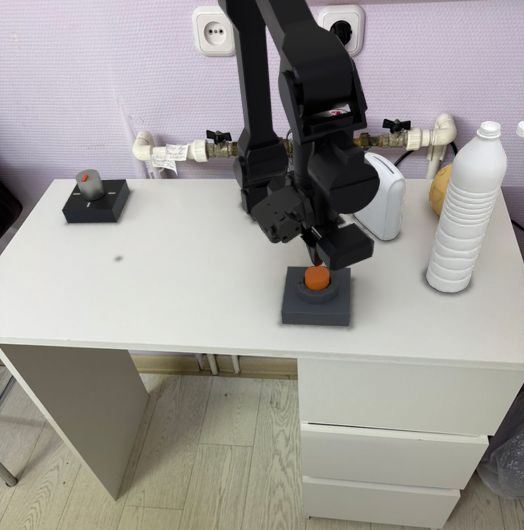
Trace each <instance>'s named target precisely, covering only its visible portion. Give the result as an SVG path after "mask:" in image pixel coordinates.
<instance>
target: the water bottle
mask: <svg viewBox="0 0 524 530" xmlns="http://www.w3.org/2000/svg"><path fill="white" fill-rule="evenodd" d="M501 127H502V125H501V124H500V123H499V122H497V121H493V120H486V121H483V122H482V123H481V124H480V125H479V128H478V129H477V130H476V135H475V136H474V137H473V138H472V139H470V140H469V141H468V142H467V143H466V144H464V146H463V147H462V148H460V149H459V150H458V152H457V153H456V155H455V156H454V158H453V161H452V163H453V164H452V169H451V174H450V178H449V183H448V187H447V191H446V195H445V199H444V204H443V208H442V212H441V215H440V216H439V221H438V224H437V228H436V234H435V237H434V242H433V245H432V250H431V254H430V258H429V263H428V266H427V269H426V275H425V278H426V280H427V283H428V284H429V286H430V287H432V288H433V289H436V290H437V291H439V292H441V293H451V294H452V293H459V292H460V291H463V290H465V289H466V288H467V286H468V285H469V283H470V281H471V278H472V275H473V270H474V268H475V265H476V262H477V259H478V257H479V253H480V250H481V248H482V245H483V241H484V238H485V234H486V231H487V229H488V226H489V223H490V219H491V216H492V215H493V214H492V213H493V210H494V208H495V205H496V202H497V198H498V195H499V193H500V190H501V187H502V183H503V181H504V178H505V176H506V173H507V169H508V157H507V154H506V152H505V149H504V146H503V145H502V142H501V140H500V137H501V135H502V132H501ZM515 134H516V135H517V136H518V137H520V138H523V139H524V120H522V121H520V122H518V124H517V126H516V129H515Z"/></svg>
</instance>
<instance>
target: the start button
mask: <svg viewBox="0 0 524 530" xmlns="http://www.w3.org/2000/svg"><path fill="white" fill-rule="evenodd" d="M311 266H312V267H310V266H309V267H310V268H308V269H307V270H306V272H305V284H306V286H307V287H308V288H309V289H311V290H322V289H325V288H326V287H327V286H328V285H329V271H328V269H327V268H325V267H323V266H324V265H320V266H317V267H315V266H314V265H311Z"/></svg>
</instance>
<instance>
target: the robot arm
mask: <svg viewBox="0 0 524 530" xmlns="http://www.w3.org/2000/svg"><path fill="white" fill-rule="evenodd" d="M217 4H218V7H219V8H220V9H221V11H222V12H223V14H224V15H225V17H226V18H227V20H228V21H229V22H230V24H231V27H232V32H233V41H234V42H233V43H234V50H235V58H236V66H237V75H238V83H239V84H238V85H239V91H240V101H241V109H242V118H243V129H242V131H241V133H240V135H239V137H238V139H237V141H236V146H237V147H236V148H237V156H236V157H235V159H234V162H233V165H232V169H233V174H234V178H235V180H236V182H237V184H238V186H239V188H240V189H239V190H240V197H241V206H242V208H243V210H244V211H245V213H246V214H247V215H249V216H250V217H251V219H252V220H253V221H254V222H256V224H257V226H258V228H259V229H260V231H262V233H263V234H264V235H265V236H266V238H267V240H268V241H269V242H270V243H271V244H273V245H275V244H279V243H282V244H288V243H290V242H291V241H292V240H294V239H295V238H296V237H298V236H299V237H300V238H301V240H302V241H303V242H304V245H305V247H306V250H307V253H308V255H309V258H310V262H311V264H312V266H315V267H317V266H322V265H323V264H324V266H326V267H328V268H329V270H333V271H338V270H340V269H343V268H345V267H350V266H353V265H355V264H357V263H360V262H363V261H365V260H368V259H371V258H372V257H373V254H374V250H375V240H374V239H373V238H372V237H371V236H370V234H368V233H367V232H366V231H365V230H364V229H363V228H362V227H361V226H360V225H359V224H357V223H355V222H352V223H349V224H347V222H348V221H347V220H346V219H345V218H344V217H343V216H342V215H354V213H356V212H358V211H360V210H362V209H363V208H365V207H366V206H367V205H368V204H369V203H370V202H372V200H373V199H374V197H375V196H376V194H377V192H378V190H379V186H380V178H379V175H378V172H377V170H376V169H375V168H374V166H373V165H372V164H371V163H370V162H369V161H368V160H367V159H366V158H365V154H366V153H365V152H366V151H364V149H363V148H362V147H361V146H360V145H358V144H357V143H355V141H354V138H355V132H358V131H361V130H365V129H367V128H368V121H367V120H368V119H367V114H366V112H367V110H368V109H369V107H368V104H367V99H366V95H365V93H364V89H363V85H362V82H361V78H360V73H359V71H358V68H357V65H356V62H355V60H354V58H352V56H351V54H350V53H349V51H348V50H347V48H346V46H345V45H344V44H343V42H342V41H341V38H339V36H338V35H337V34H336V33H334V32H332V31H330V30H328V29H327V28H324V27H322V26H320V25H319V24H318V22H317V20H316V19H315V17H314V14H313V13H312V10H311V8H310V6H309V4H308V2H307V0H217ZM267 30H268V33H269V35H270V37H271V39H272V41H273V44H274V46H275V49H276V51H277V53H278V56H279V68H278V75H277V76H278V77H277V89H278V95H279V98H280V101H281V105H282V108H283V111H284V114H285V116H286V117H285V118H286V121H287V123H288V126H289V128H290V131H291V133H292V134H291V138H292V139H291V140H292V141H291V143H292V165H293V170H292V169H291V170H289V162H290V159H289V158H290V153H289V152H287V149H286V146H285V144H284V142H283V141H282V140H281V138H280V137H279V136H278V134H277V133H276V131H275V130H274V123H273V122H274V121H273V109H272V94H271V81H270V68H269V54H268V52H269V51H268V41H267ZM346 106H348V108H349V110H348V111H346V112H342V113H338V114H334V115H333V114H332V113H331V112H329V111H333V110H337V109H342V108H345V107H346Z"/></svg>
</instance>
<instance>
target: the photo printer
mask: <svg viewBox="0 0 524 530" xmlns="http://www.w3.org/2000/svg"><path fill="white" fill-rule="evenodd" d="M365 158H366V159H367V160H368V161H369V162H370V163H371V164H372V165H373V166H374V168H375V169H376V170H377V172H378V175H379V178H380V186H379V190H378V192H377V194H376V196H375V197H374V199H373V200H372V202H370V203H369V204H368V205H367V206H366V207H365V208H363V209H362V210H360V211H358V212H356V213H353V215H354V216H355V218H356V219H357V220H358V221H359V222H360V223H361V224H362V225H363V226H364V227H365V228H367V230H369V232H371V233H372V234H373V235H375V237H377V238H378V239H380V240H382V241H390V240H391V241H392V240H393V239H396V237H397V236H398V234H399V233H400V230H401V224H402V217H403V209H404V203H405V197H406V191H407V190H406V189H407V181H406V178H405V177H404V175H403V174H402V172H401V171H400V170H399V169H398V167H396V165H394V163H392V162H391V160H389V159H387V158H386V157H384V156H382V155H380V154H378V153H375V152H369V151H367V152H366V153H365Z"/></svg>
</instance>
